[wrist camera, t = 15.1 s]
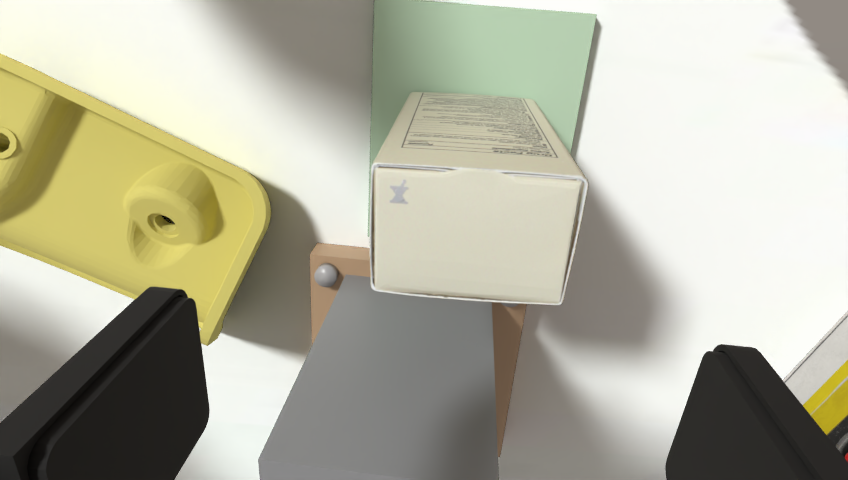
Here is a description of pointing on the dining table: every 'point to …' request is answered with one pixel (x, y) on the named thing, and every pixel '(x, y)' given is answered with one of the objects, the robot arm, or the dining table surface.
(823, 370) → the emergency button
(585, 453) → the dining table surface
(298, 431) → the mounted unit
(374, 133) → the mat
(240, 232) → the plastic component
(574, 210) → the skincare box
